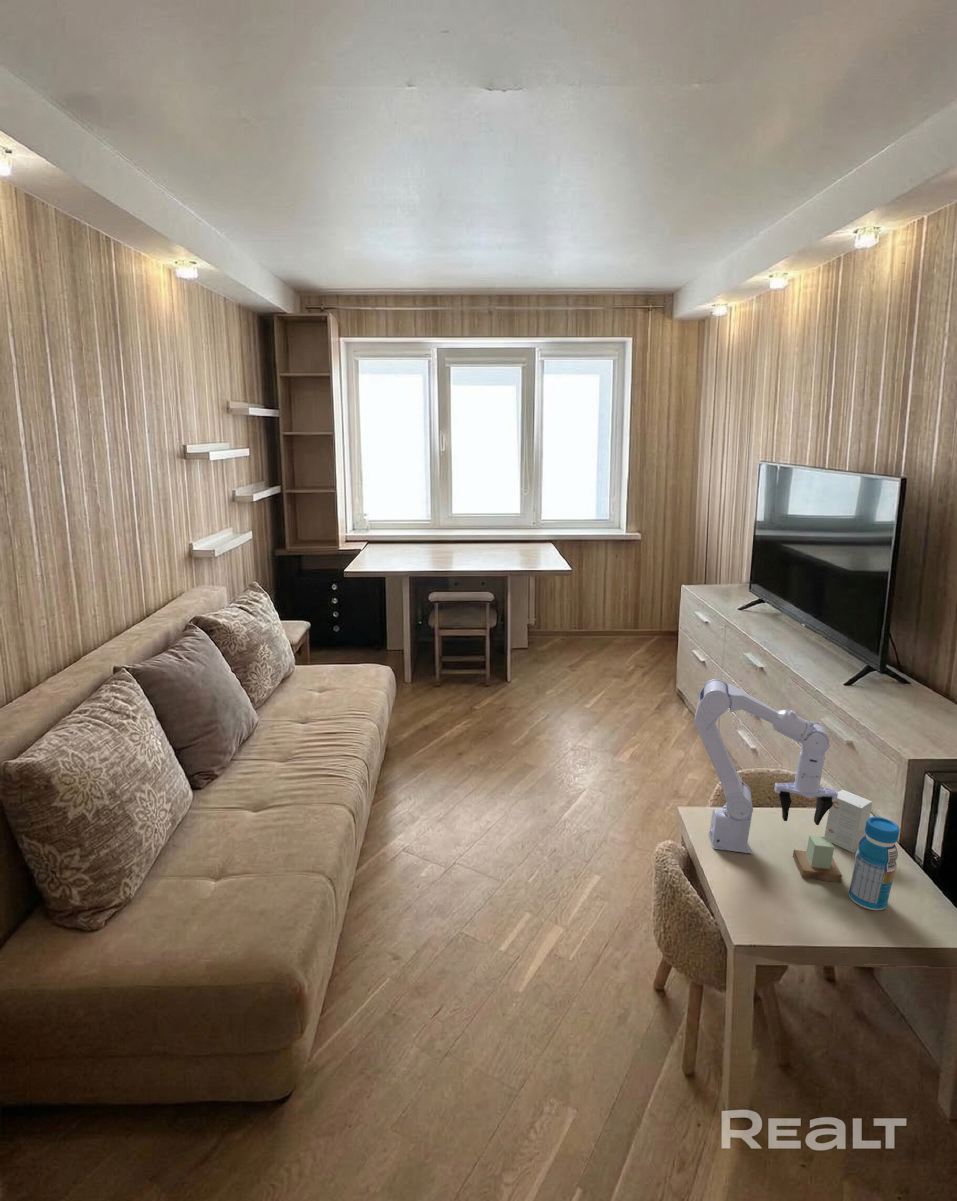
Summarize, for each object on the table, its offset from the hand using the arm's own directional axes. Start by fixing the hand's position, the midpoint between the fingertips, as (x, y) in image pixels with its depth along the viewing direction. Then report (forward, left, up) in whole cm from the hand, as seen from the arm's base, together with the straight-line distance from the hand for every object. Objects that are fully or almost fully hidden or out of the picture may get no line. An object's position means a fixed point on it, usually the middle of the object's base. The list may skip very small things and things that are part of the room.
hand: (800, 821), depth 191 cm
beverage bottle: (+13, -16, -10) cm, 23 cm away
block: (+4, -5, -8) cm, 10 cm away
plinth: (+4, -5, -10) cm, 12 cm away
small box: (+15, +10, -10) cm, 21 cm away
